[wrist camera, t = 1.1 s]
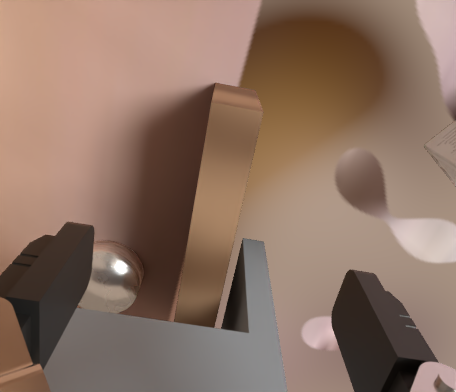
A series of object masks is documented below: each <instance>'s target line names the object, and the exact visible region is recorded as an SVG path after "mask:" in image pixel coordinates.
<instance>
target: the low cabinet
mask: <svg viewBox="0 0 456 392" xmlns="http://www.w3.org/2000/svg"><path fill="white" fill-rule="evenodd" d="M43 372H44V375H45V377H46V380H47V383H48V385H49V388H50V391H51V392H287V386H286V379H285V373H284V367H283V361H282V355H281V348H280V341H279V335H278V329H277V322H276V316H275V310H274V303H273V297H272V290H271V284H270V278H269V271H268V265H267V259H266V252H265V246H264V242H262V241H257V240H251V239H244V238H243V240H242V244H241V248H240V253H239V256H238V261H237V265H236V269H235V273H234V277H233V281H232V286H231V290H230V294H229V298H228V302H227V306H226V311H225V315H224V319H223V323H222V327H221V329H217V328H211V327H204V326H197V325H190V324H183V323H177V322H170V321H163V320H156V319H150V318H143V317H136V316H129V315H123V314H116V313H109V312H102V311H96V310H89V309H82V308H76V310H75V312H74V314H73V315H72V317H71V319H70V321H69V323H68V325H67V327H66V329H65V330H64V332H63V334H62V336H61V338H60V340H59V342H58V343H57V345H56V347H55V349H54V351H53V353H52V355H51V357H50V358H49V360H48V362H47V364H46V366H45V368H44V370H43Z"/></svg>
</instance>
